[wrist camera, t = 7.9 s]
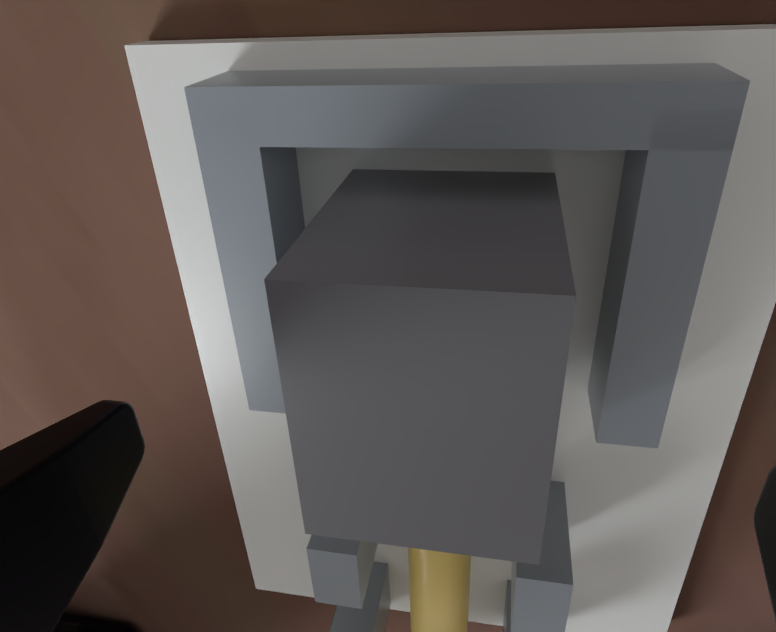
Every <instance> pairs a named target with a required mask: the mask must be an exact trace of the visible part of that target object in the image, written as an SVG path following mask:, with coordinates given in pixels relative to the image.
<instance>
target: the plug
mask: <svg viewBox="0 0 776 632" xmlns="http://www.w3.org/2000/svg"><path fill="white" fill-rule="evenodd" d="M264 282H265V288H266V294H267V300H268V307H269V313H270V319H271V325H272V331H273V338H274V344H275V350H276V356H277V362H278V368H279V375H280V381H281V387H282V393H283V399H284V406H285V412H286V418H287V424H288V430H289V436H290V443H291V449H292V455H293V461H294V467H295V474H296V480H297V486H298V492H299V498H300V505H301V511H302V517H303V523H304V529H305V534H310V535H318V536H326V537H333V538H341V539H348V540H356V541H363V542H371V543H378V544H386V545H393V546H401V547H408V560H409V590H410V620H411V632H468V612H469V591H470V570H471V556H476V557H483V558H491V559H499V560H506V561H514V562H521V563H529V564H536V565H539V563H540V556H541V549H542V541H543V534H544V527H545V520H546V512H547V505H548V498H549V490H550V483H551V476H552V469H553V461H554V454H555V447H556V439H557V432H558V425H559V417H560V410H561V403H562V396H563V388H564V381H565V374H566V366H567V359H568V352H569V344H570V337H571V330H572V323H573V315H574V308H575V301H576V292H575V286H574V280H573V274H572V269H571V263H570V257H569V251H568V245H567V239H566V234H565V228H564V222H563V216H562V210H561V204H560V199H559V193H558V187H557V181H556V175H555V173H549V172H489V171H430V170H370V169H353V170H352V171H351V172H350V173H349V175H348V176H347V177H346V178H345V180H344V181H343V182H342V183H341V185H340V186H339V187H338V188H337V190H336V191H335V192H334V193H333V195H332V196H331V197H330V198H329V199H328V201H327V202H326V203H325V204H324V206H323V207H322V208H321V209H320V211H319V212H318V213H317V214H316V216H315V217H314V218H313V219H312V221H311V222H310V223H309V224H308V226H307V227H306V228H305V229H304V230H303V232H302V233H301V234H300V235H299V237H298V238H297V239H296V240H295V242H294V243H293V244H292V245H291V247H290V248H289V249H288V250H287V252H286V253H285V254H284V255H283V257H282V258H281V259H280V260H279V262H278V263H277V264H276V265H275V266H274V268H273V269H272V270H271V271H270V273H269V274H268V275H267V276H266V278H265V279H264Z"/></svg>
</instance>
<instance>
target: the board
mask: <svg viewBox="0 0 776 632" xmlns="http://www.w3.org/2000/svg"><path fill="white" fill-rule="evenodd" d="M124 46H125V51H126V55H127V59H128V63H129V67H130V71H131V75H132V79H133V84H134V88H135V92H136V96H137V100H138V104H139V108H140V112H141V117H142V121H143V125H144V129H145V133H146V137H147V141H148V145H149V150H150V154H151V158H152V162H153V166H154V170H155V174H156V178H157V183H158V187H159V191H160V195H161V199H162V203H163V207H164V212H165V216H166V220H167V224H168V228H169V232H170V236H171V240H172V245H173V249H174V253H175V257H176V261H177V265H178V269H179V273H180V278H181V282H182V286H183V290H184V294H185V298H186V302H187V306H188V311H189V315H190V319H191V323H192V327H193V331H194V335H195V339H196V344H197V348H198V352H199V356H200V360H201V364H202V368H203V372H204V377H205V381H206V385H207V389H208V393H209V397H210V401H211V405H212V410H213V414H214V418H215V422H216V426H217V430H218V434H219V438H220V443H221V447H222V451H223V455H224V459H225V463H226V467H227V472H228V476H229V480H230V484H231V488H232V492H233V496H234V500H235V505H236V509H237V513H238V517H239V521H240V525H241V529H242V533H243V538H244V542H245V546H246V550H247V554H248V558H249V562H250V566H251V571H252V575H253V579H254V583H255V587H256V589H261V590H267V591H274V592H281V593H287V594H294V595H300V596H307V597H313V598H315V602H319V603H325V604H332V605H337V607H336V611H335V614H334V618H333V621H332V625H331V628H330V632H385V629H386V624H387V619H388V614H389V609H393V610H399V611H406V612H410V590H409V560H408V547H401V546H393V545H386V544H378V543H371V542H363V541H356V540H348V539H341V538H333V537H326V536H318V535H310V534H305V529H304V523H303V517H302V511H301V505H300V498H299V492H298V486H297V480H296V474H295V467H294V461H293V455H292V449H291V443H290V436H289V430H288V424H287V418H286V412H285V406H284V399H283V393H282V387H281V381H280V375H279V368H278V362H277V356H276V350H275V344H274V338H273V331H272V325H271V319H270V313H269V307H268V300H267V294H266V288H265V282H264V279H265V278H266V276H267V275H268V274H269V273H270V271H271V270H272V269H273V268H274V266H275V265H276V264H277V263H278V262H279V260H280V259H281V258H282V257H283V255H284V254H285V253H286V252H287V250H288V249H289V248H290V247H291V245H292V244H293V243H294V242H295V240H296V239H297V238H298V237H299V235H300V234H301V233H302V232H303V230H304V229H305V228H306V227H307V226H308V224H309V223H310V222H311V221H312V219H313V218H314V217H315V216H316V214H317V213H318V212H319V211H320V209H321V208H322V207H323V206H324V204H325V203H326V202H327V201H328V199H329V198H330V197H331V196H332V195H333V193H334V192H335V191H336V190H337V188H338V187H339V186H340V185H341V183H342V182H343V181H344V180H345V178H346V177H347V176H348V175H349V173H350V172H351V171H352V170H353V169H370V170H430V171H489V172H549V173H555V175H556V181H557V187H558V193H559V199H560V204H561V210H562V216H563V222H564V228H565V234H566V239H567V245H568V251H569V257H570V263H571V269H572V274H573V280H574V286H575V292H576V301H575V308H574V315H573V323H572V330H571V337H570V344H569V352H568V359H567V366H566V374H565V381H564V388H563V396H562V403H561V410H560V417H559V425H558V432H557V439H556V447H555V454H554V461H553V469H552V476H551V483H550V490H549V498H548V505H547V512H546V520H545V527H544V534H543V541H542V549H541V556H540V563H539V565H536V564H529V563H521V562H514V561H506V560H499V559H491V558H483V557H476V556H471V570H470V591H469V612H468V621H472V622H478V623H485V624H491V625H498V626H503V632H667V630H668V627H669V624H670V621H671V618H672V615H673V612H674V609H675V606H676V603H677V600H678V597H679V594H680V591H681V588H682V585H683V582H684V579H685V576H686V573H687V570H688V567H689V564H690V561H691V558H692V555H693V552H694V549H695V546H696V542H697V539H698V536H699V533H700V530H701V527H702V524H703V521H704V518H705V515H706V512H707V509H708V506H709V503H710V500H711V497H712V494H713V491H714V488H715V485H716V482H717V479H718V476H719V473H720V470H721V467H722V464H723V461H724V458H725V455H726V451H727V448H728V445H729V442H730V439H731V436H732V433H733V430H734V427H735V424H736V421H737V418H738V415H739V412H740V409H741V406H742V403H743V400H744V397H745V394H746V391H747V388H748V385H749V382H750V379H751V376H752V373H753V370H754V367H755V364H756V360H757V357H758V354H759V351H760V348H761V345H762V342H763V339H764V336H765V333H766V330H767V327H768V324H769V321H770V318H771V315H772V312H773V309H774V306H775V303H776V24H754V25H717V26H680V27H643V28H606V29H569V30H532V31H495V32H458V33H421V34H384V35H347V36H310V37H273V38H236V39H199V40H162V41H143V42H138V43H134V44H129V45H124Z"/></svg>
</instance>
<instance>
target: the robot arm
mask: <svg viewBox="0 0 776 632" xmlns="http://www.w3.org/2000/svg"><path fill="white" fill-rule="evenodd" d="M144 448H145V446H144V439H143V436H142V433H141V430H140V427H139V424H138V421H137V418H136V415H135V412H134V409H133V407H132V406H131V405H130V404H129V403H127V402H123V401H113V400H103V401H100V402H97V403H95V404H93V405H91V406H89V407H87V408H85V409H83V410H81V411H79V412H77V413H75V414H73V415H71V416H69V417H67V418H65V419H63V420H61V421H59V422H57V423H55V424H53V425H51V426H49V427H47V428H45V429H43V430H41V431H39V432H37V433H35V434H33V435H31V436H28V437H26V438H24V439H22V440H20V441H18V442H16V443H14V444H12V445H10V446H8V447H6V448H4V449H2V450H0V632H137V631H135V630H134V629H133V628H131V627H129V626H126V625H120V624H114V623H109V622H103V621H97V620H91V619H85V618H79V617H73V616H68V615H62V614H63V613H64V611H65V609H66V607H67V606H68V604H69V602H70V600H71V599H72V597H73V595H74V594H75V592H76V590H77V588H78V587H79V585H80V583H81V582H82V580H83V578H84V576H85V575H86V573H87V571H88V570H89V568H90V566H91V564H92V563H93V561H94V559H95V557H96V555H97V554H98V552H99V550H100V548H101V546H102V544H103V542H104V540H105V538H106V536H107V534H108V532H109V530H110V528H111V526H112V524H113V521H114V519H115V517H116V515H117V513H118V510H119V508H120V506H121V504H122V502H123V499H124V497H125V495H126V493H127V491H128V489H129V486H130V484H131V482H132V480H133V478H134V475H135V473H136V471H137V469H138V467H139V465H140V462H141V460H142V458H143V454H144ZM754 527H755V532H756V536H757V541H758V545H759V550H760V554H761V559H762V563H763V567H764V572H765V576H766V581H767V585H768V590H769V594H770V599H771V603H772V608H773V612H774V616H775V621H776V466H774V467H773V468H772V469H771V470H770V472H769V474H768V477H767V479H766V482H765V484H764V487H763V490H762V492H761V495H760V497H759V500H758V502H757V505H756V508H755V512H754Z"/></svg>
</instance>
